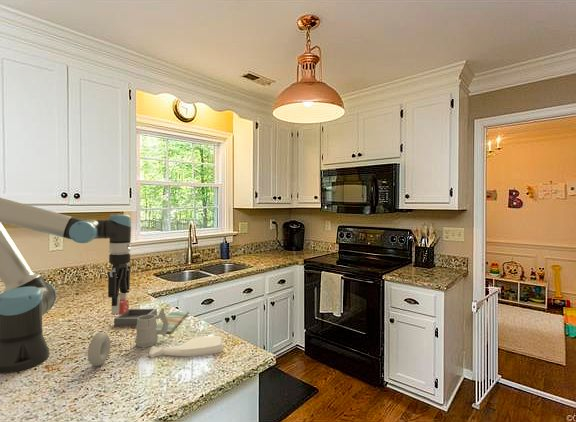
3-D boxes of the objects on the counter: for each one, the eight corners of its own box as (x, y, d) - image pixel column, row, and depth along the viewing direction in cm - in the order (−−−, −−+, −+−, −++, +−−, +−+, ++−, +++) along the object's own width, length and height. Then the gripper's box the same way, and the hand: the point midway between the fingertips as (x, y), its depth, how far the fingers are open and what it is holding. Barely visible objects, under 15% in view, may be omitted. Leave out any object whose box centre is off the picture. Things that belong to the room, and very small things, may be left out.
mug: (132, 342, 120) (132, 310, 120) (165, 334, 127) (164, 304, 127) (138, 349, 114) (138, 316, 114) (171, 341, 121) (171, 309, 121)
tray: (144, 325, 137) (144, 318, 137) (114, 325, 137) (114, 318, 137) (156, 315, 150) (156, 308, 150) (129, 315, 150) (128, 308, 150)
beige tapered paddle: (222, 354, 111) (146, 363, 105) (221, 341, 122) (152, 349, 116) (222, 346, 111) (146, 355, 105) (221, 334, 122) (152, 341, 116)
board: (171, 333, 129) (171, 331, 129) (150, 333, 129) (150, 331, 129) (188, 313, 153) (188, 311, 153) (171, 313, 153) (171, 311, 153)
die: (123, 314, 126) (123, 302, 126) (111, 314, 126) (111, 302, 126) (129, 310, 131) (129, 299, 130) (117, 310, 130) (117, 299, 130)
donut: (102, 357, 108) (101, 328, 108) (112, 357, 109) (112, 327, 108) (85, 372, 98) (85, 340, 98) (97, 372, 99) (96, 340, 98)
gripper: (117, 256, 119) (116, 319, 119) (139, 250, 137) (138, 304, 137) (97, 256, 119) (96, 318, 119) (121, 250, 137) (120, 304, 137)
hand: (119, 311), depth 128 cm, fingers closed on die, 5 cm apart
